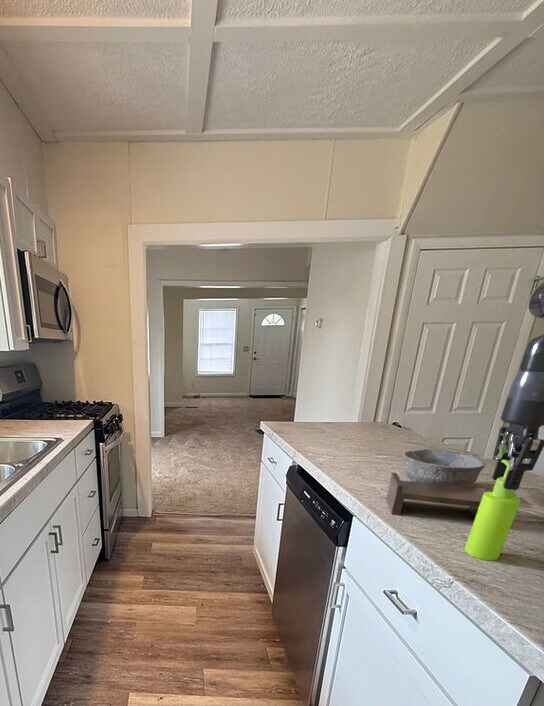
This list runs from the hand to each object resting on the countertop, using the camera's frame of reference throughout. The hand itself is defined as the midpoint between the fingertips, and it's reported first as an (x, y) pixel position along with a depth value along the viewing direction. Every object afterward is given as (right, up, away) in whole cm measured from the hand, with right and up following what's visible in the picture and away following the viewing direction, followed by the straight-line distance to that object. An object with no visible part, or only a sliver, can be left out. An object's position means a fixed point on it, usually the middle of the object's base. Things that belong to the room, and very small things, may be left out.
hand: (504, 483), depth 80 cm
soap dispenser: (0, -14, +6) cm, 16 cm away
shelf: (+5, -5, +27) cm, 28 cm away
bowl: (+16, +1, +44) cm, 47 cm away
